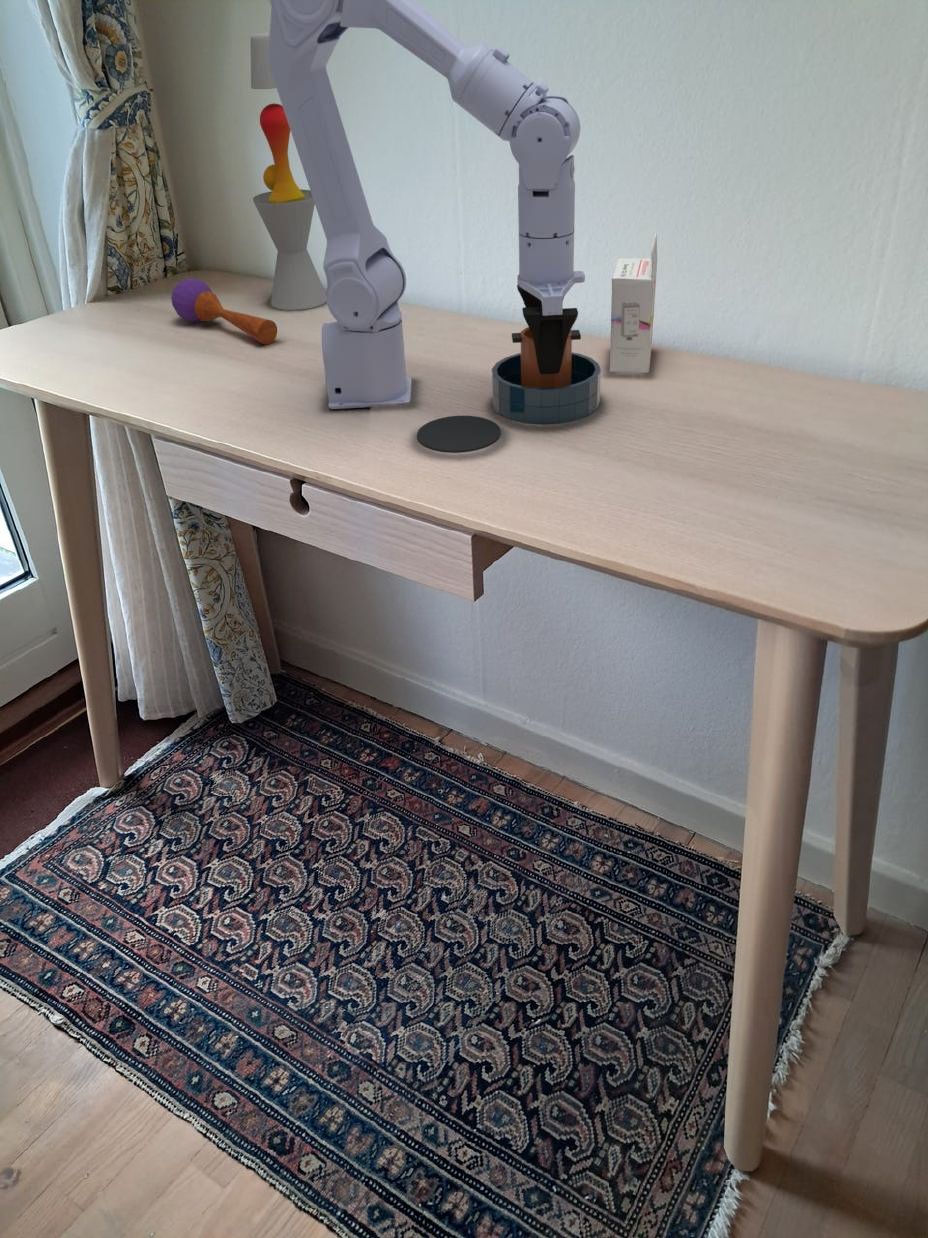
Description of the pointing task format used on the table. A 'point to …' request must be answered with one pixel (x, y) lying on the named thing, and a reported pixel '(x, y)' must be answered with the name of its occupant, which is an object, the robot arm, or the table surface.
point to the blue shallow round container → (546, 393)
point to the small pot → (530, 366)
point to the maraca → (217, 310)
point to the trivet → (458, 434)
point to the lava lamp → (284, 201)
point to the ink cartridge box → (633, 312)
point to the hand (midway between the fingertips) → (546, 360)
